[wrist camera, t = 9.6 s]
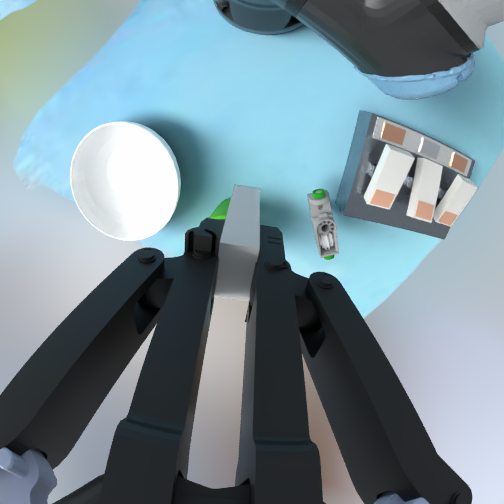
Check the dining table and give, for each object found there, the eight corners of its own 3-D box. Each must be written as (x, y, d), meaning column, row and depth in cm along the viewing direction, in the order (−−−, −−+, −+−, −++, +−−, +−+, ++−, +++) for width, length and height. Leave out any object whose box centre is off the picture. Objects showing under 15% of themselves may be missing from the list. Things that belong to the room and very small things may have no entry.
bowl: (206, 205, 45) (199, 221, 40) (117, 235, 48) (103, 253, 43) (163, 96, 35) (148, 98, 30) (74, 147, 38) (53, 156, 33)
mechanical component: (316, 169, 41) (331, 191, 32) (326, 225, 46) (340, 258, 38) (298, 173, 41) (308, 196, 33) (309, 229, 47) (320, 262, 38)
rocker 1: (386, 143, 31) (391, 149, 29) (409, 152, 31) (415, 158, 29) (363, 196, 37) (366, 204, 36) (385, 202, 37) (389, 210, 36)
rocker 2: (417, 157, 33) (424, 158, 31) (436, 165, 33) (443, 166, 31) (406, 215, 36) (412, 217, 34) (424, 220, 36) (431, 223, 34)
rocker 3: (458, 173, 31) (463, 181, 30) (472, 181, 31) (478, 188, 30) (431, 214, 38) (435, 222, 37) (446, 219, 38) (450, 227, 37)
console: (359, 110, 35) (375, 114, 30) (459, 152, 36) (479, 162, 31) (335, 202, 44) (344, 218, 38) (432, 226, 45) (447, 242, 40)
